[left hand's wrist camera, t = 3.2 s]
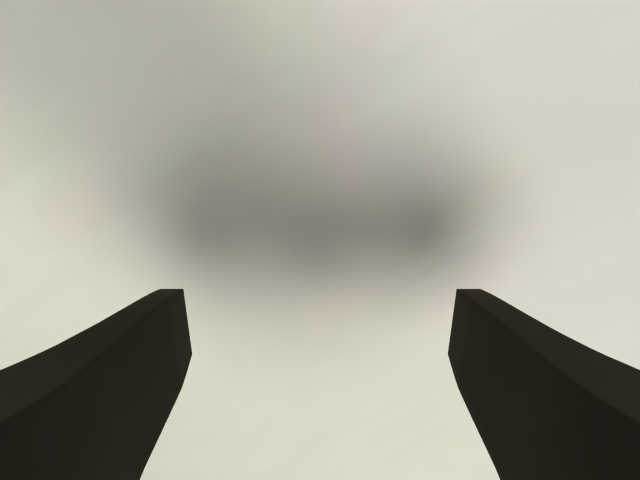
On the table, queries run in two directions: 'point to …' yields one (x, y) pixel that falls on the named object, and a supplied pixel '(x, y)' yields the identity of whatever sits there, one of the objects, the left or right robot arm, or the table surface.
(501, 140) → the table surface
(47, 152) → the table surface
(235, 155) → the table surface
